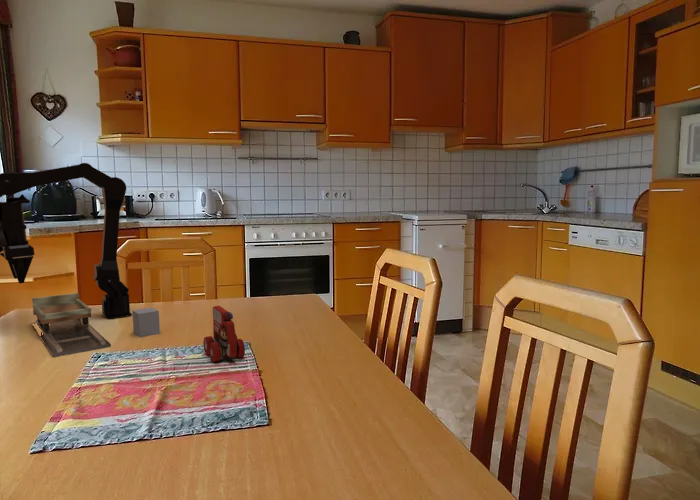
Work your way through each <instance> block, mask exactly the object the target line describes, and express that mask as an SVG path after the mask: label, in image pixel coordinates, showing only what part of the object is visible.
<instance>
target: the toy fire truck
mask: <svg viewBox="0 0 700 500" xmlns="http://www.w3.org/2000/svg"><path fill="white" fill-rule="evenodd" d="M212 318H213V320H212V321H213V322H212V323H213V327H212V328H213V336H212V335H211V336H210V335H209V336H204V338H203V350H204V354H205V355H206V356H209V357H210V360H211V362H213V363H216V362H220V361H221V359H222V358H223V357H229V358H235V357H236V358H237V359H239V358H243V357H244V356H245V353H246V346H245V343H244V340H243V339H242V338H238V336H237V334H236V329H235V323H234V321H233V318H234V315H233V313H232V312H230V311H227V310H226V309H225V308H224V307H222V306H220V305H215V306H213V307H212Z"/></svg>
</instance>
